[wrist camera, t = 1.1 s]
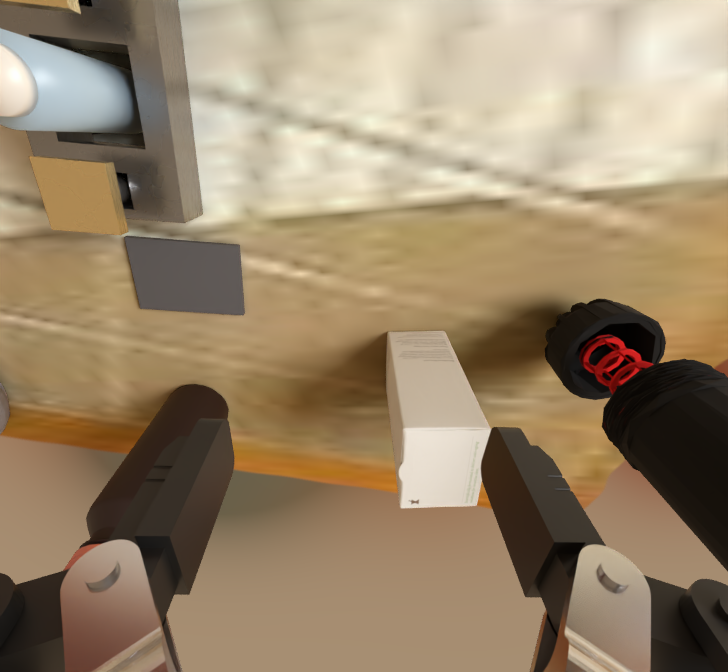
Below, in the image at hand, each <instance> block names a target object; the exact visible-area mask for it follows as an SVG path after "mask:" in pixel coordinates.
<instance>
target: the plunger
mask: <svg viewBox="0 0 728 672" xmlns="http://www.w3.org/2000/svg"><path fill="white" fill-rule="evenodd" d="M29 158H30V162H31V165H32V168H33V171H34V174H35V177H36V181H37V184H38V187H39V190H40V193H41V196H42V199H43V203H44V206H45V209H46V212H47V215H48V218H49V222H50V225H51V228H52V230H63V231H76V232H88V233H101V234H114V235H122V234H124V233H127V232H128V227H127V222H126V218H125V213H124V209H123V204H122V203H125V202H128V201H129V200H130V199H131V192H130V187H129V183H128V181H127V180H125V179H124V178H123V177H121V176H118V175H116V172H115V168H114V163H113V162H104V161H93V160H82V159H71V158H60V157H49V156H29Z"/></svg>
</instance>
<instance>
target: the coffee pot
mask: <svg viewBox="0 0 728 672" xmlns="http://www.w3.org/2000/svg"><path fill="white" fill-rule="evenodd" d="M9 416H10V411H9V403H8V399H7V393H6V391H5V389H4V387H3V385H2V384H1V383H0V434H1V433H2V432H3V431H4V429H5V427H6V425H7V422H8V419H9Z"/></svg>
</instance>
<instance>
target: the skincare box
mask: <svg viewBox="0 0 728 672" xmlns="http://www.w3.org/2000/svg"><path fill="white" fill-rule="evenodd" d="M386 392H387V398H388V407H389V416H390V425H391V434H392V442H393V451H394V460H395V469H396V478H397V487H398V496H399V505H400V508H422V507H458V506H477V502H478V496H479V491H480V486H481V481H482V477H481V461H482V458H483V454H484V451H485V448H486V445H487V441H488V438H489V435H490V432H491V428H490V427H489V425H488V423H487V421H486V418H485V416H484V414H483V412H482V410H481V408H480V406H479V403H478V401H477V399H476V397H475V395H474V393H473V391H472V389H471V386H470V384H469V382H468V380H467V378H466V376H465V373H464V371H463V369H462V367H461V365H460V363H459V361H458V358H457V356H456V354H455V352H454V350H453V348H452V346H451V343H450V341H449V339H448V337H447V335H446V333H445V331H398V332H388V334H387V357H386Z"/></svg>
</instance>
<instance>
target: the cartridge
mask: <svg viewBox="0 0 728 672" xmlns="http://www.w3.org/2000/svg"><path fill="white" fill-rule="evenodd" d="M0 125H3V126H5V127H7V128H11V129H15V130H29V131H60V132H91V133H122V134H137V133H141V132H143V130H142V125H141V119H140V113H139V108H138V102H137V96H136V91H135V85H134V79H133V74H132V72H131V71H130V70H128V69H126V68H123V67H120V66H116V65H113V64H110V63H107V62H104V61H101V60H98V59H95V58H92V57H88V56H85V55H82V54H79V53H76V52H73V51H70V50H67V49H63V48H60V47H57V46H54V45H51V44H48V43H45V42H42V41H38V40H35V39H32V38H29V37H26V36H23V35H20V34H17V33H13V32H10V31H7V30H4V29H1V28H0Z"/></svg>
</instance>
